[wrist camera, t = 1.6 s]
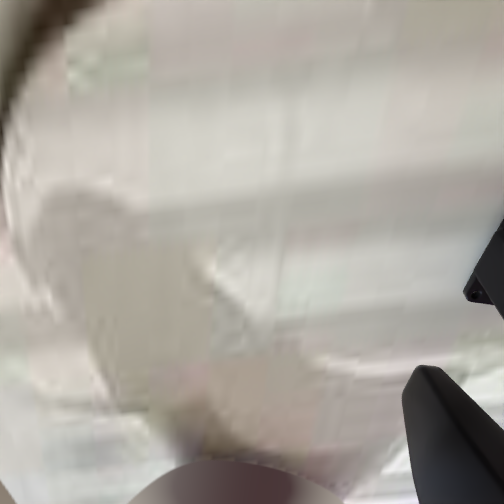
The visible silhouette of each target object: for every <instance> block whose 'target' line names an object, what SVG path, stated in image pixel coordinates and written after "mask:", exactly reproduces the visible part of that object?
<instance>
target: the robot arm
mask: <svg viewBox="0 0 504 504" xmlns="http://www.w3.org/2000/svg"><path fill="white" fill-rule="evenodd" d="M475 291H477V292H475ZM473 292H475V293H473ZM463 293H464V295H465V297H466V299H467V300H468V301H470V302H475V303H483V304H490V305H495V307H496V309H497V310H498V312H499V313H500V315H501V317H502V318H503V320H504V219H503V221H502V222H501V224H500V226H499V228H498V229H497V231H496V232H495V233H494V235H493V237H492V239H491V240H490V242H489V244H488V246H487V248H486V249H485V251H484V253H483V255H482V256H481V258H480V260H479V262H478V263H477V265H476V267H475V269H474V272H473V274H472V275H471V277H470V279H469V281H468V282H467V284H466V286H465V288H464V290H463ZM402 406H403V413H404V420H405V428H406V435H407V442H408V449H409V456H410V463H411V469H412V475H413V479H414V484H415V488H416V492H417V496H418V500H419V504H504V430H503V429H502V428H501V427H500V426H499V425H498V424H497V423H496V422H495V421H494V420H493V419H492V418H491V417H490V416H489V415H488V414H487V413H486V412H485V411H484V410H483V409H482V408H481V407H480V406H479V405H478V404H477V403H476V402H475V401H474V400H472V399H471V398H470V397H469V396H468V395H467V394H466V393H465V392H464V391H463V390H462V389H461V388H460V387H459V386H458V385H457V384H456V383H455V382H454V381H453V380H452V379H451V378H450V377H449V376H448V375H447V374H446V373H445V372H444V371H443V370H442V369H441V368H439V367H436V366H427V365H419V366H417V367H416V368H415V370H414V372H413V373H412V375H411V377H410V379H409V381H408V383H407V384H406V386H405V388H404V390H403V393H402Z"/></svg>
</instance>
